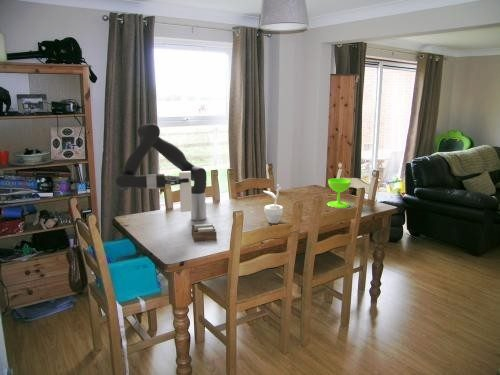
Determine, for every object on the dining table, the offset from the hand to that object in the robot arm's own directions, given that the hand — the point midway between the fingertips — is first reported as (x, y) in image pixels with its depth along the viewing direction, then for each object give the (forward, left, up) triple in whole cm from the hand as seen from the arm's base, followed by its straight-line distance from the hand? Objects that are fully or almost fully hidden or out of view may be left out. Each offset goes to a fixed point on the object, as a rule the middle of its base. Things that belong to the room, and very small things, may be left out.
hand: (188, 179), depth 210 cm
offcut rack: (-2, +8, -32) cm, 33 cm away
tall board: (+1, -1, -17) cm, 18 cm away
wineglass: (-99, +59, -32) cm, 119 cm away
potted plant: (-43, +32, -32) cm, 62 cm away
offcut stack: (0, +10, -30) cm, 31 cm away
